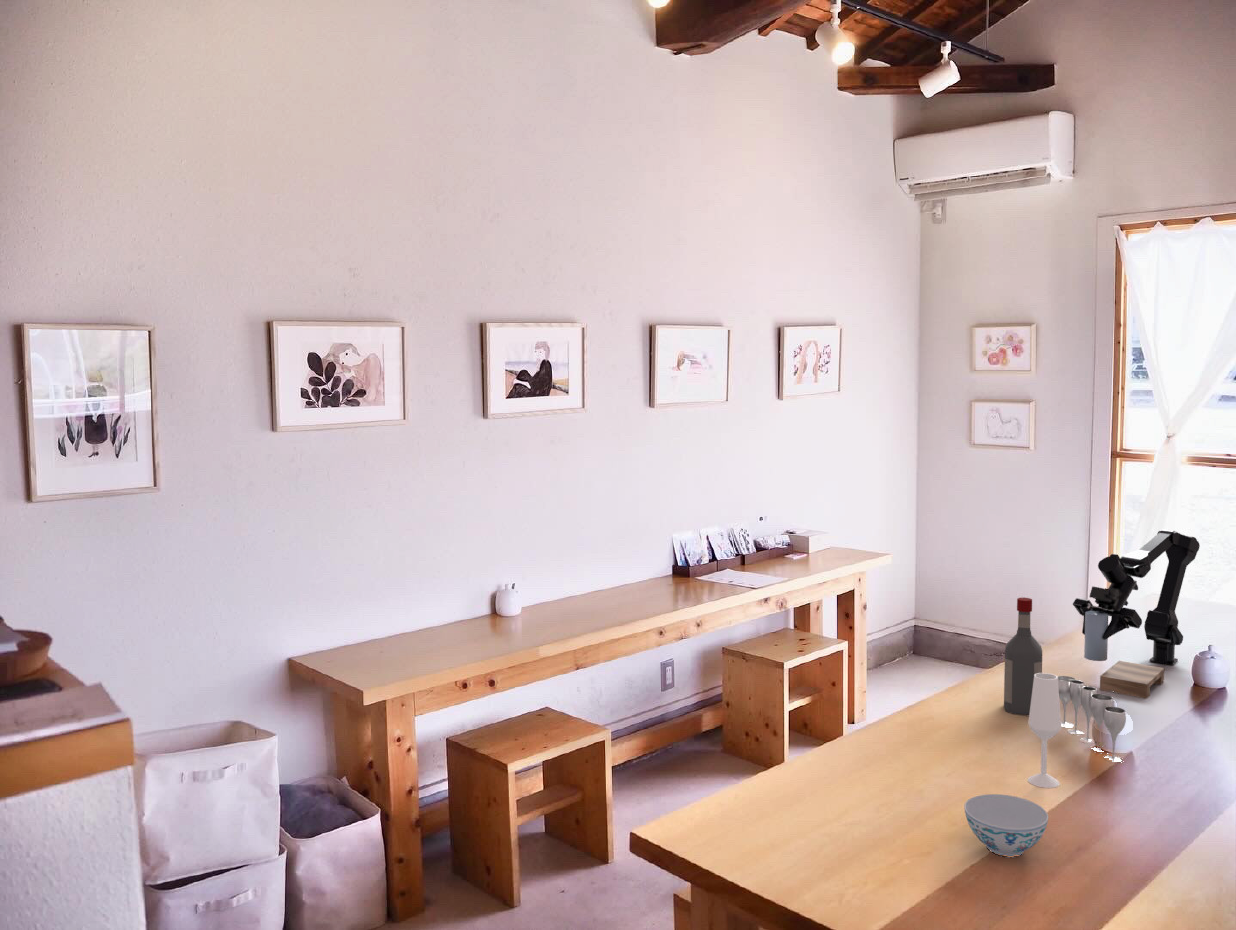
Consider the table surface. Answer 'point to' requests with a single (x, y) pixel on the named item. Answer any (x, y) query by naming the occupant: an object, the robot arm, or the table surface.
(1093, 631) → the tall grey cylinder
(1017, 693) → the liquor
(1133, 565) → the robot arm
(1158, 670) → the riser
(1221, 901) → the table surface
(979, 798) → the chinaware
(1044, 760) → the champagne flute
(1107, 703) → the goblet set
